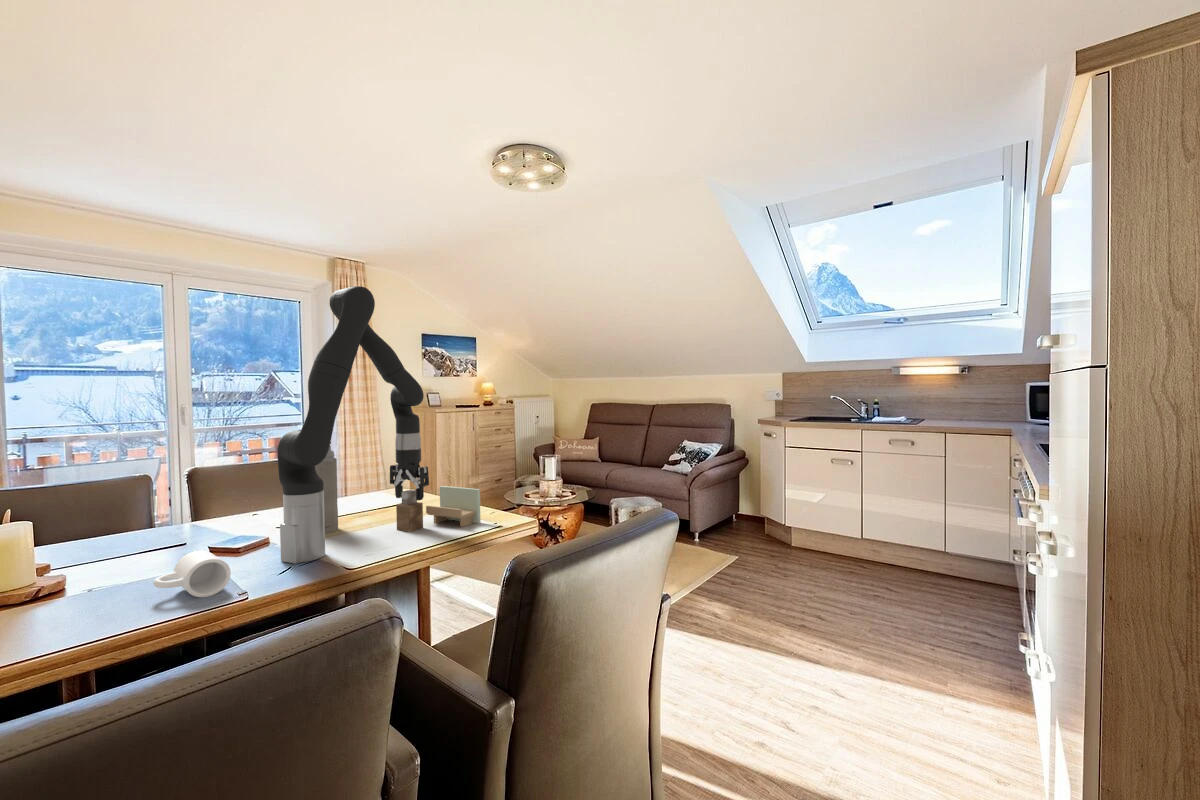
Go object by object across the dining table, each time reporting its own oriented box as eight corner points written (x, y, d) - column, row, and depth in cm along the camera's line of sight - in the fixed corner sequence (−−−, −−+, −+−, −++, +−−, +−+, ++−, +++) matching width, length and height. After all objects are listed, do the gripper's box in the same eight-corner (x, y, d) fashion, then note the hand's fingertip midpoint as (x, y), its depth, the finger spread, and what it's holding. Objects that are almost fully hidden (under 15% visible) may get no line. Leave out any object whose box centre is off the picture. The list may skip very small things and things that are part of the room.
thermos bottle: (308, 535, 156) (305, 443, 155) (310, 529, 163) (308, 441, 162) (337, 531, 159) (335, 441, 158) (338, 525, 166) (336, 439, 166)
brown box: (410, 532, 158) (409, 493, 157) (396, 530, 160) (395, 491, 160) (423, 527, 162) (422, 490, 162) (409, 526, 165) (408, 488, 165)
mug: (217, 580, 119) (216, 546, 118) (231, 591, 112) (230, 554, 112) (149, 597, 109) (148, 560, 109) (160, 609, 103) (159, 570, 103)
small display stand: (462, 529, 160) (462, 494, 160) (424, 524, 167) (423, 490, 167) (480, 522, 168) (479, 489, 168) (442, 518, 175) (442, 485, 174)
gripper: (382, 447, 161) (383, 499, 161) (416, 449, 155) (417, 503, 155) (400, 445, 167) (402, 494, 168) (434, 446, 161) (435, 498, 162)
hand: (409, 498), depth 161 cm, fingers open, 8 cm apart
